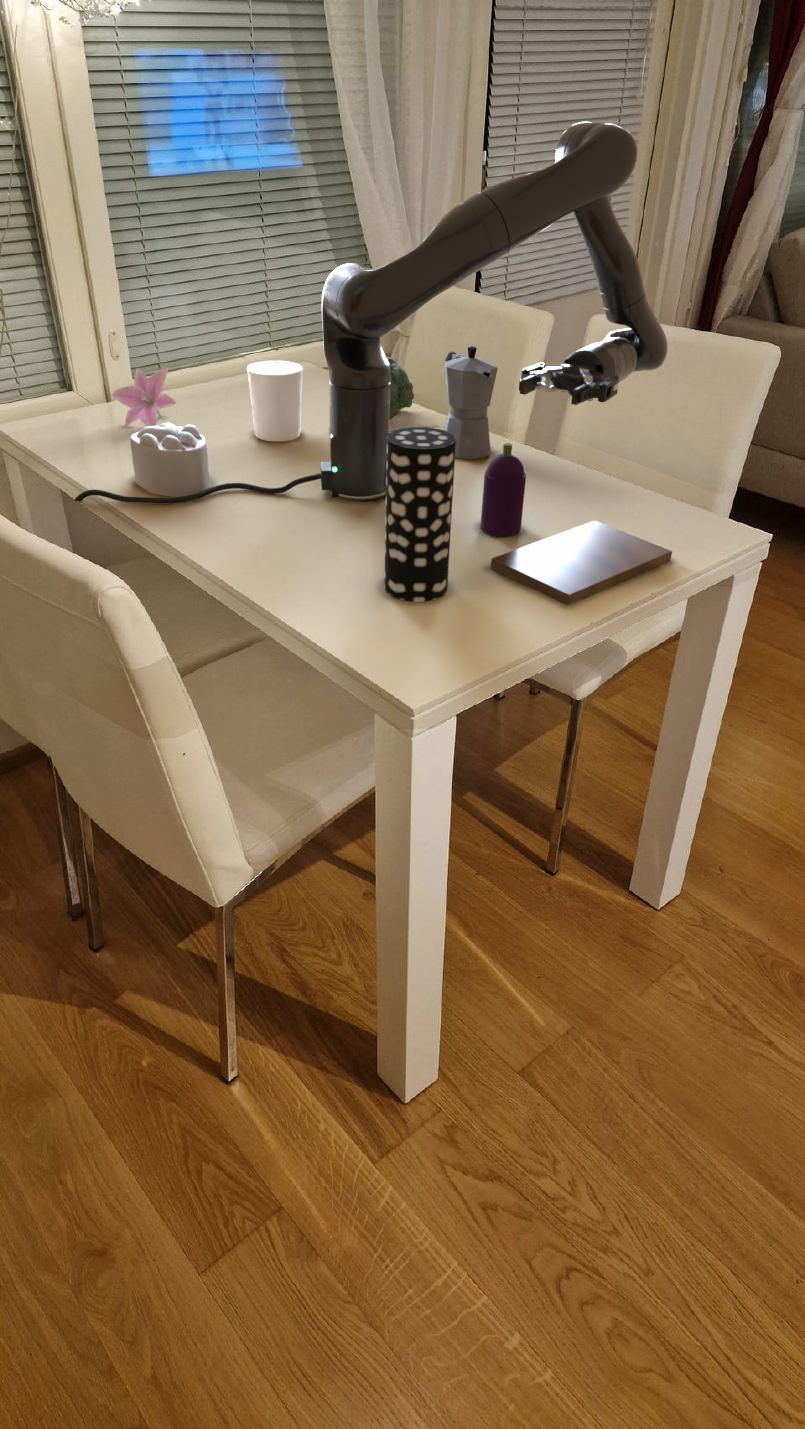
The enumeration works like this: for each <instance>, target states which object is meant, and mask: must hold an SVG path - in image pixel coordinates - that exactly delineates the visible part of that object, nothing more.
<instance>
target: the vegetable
mask: <svg viewBox="0 0 805 1429" xmlns="http://www.w3.org/2000/svg"><path fill="white" fill-rule="evenodd" d="M385 357H386V359H387V360H388V362H389V365H390V415H389V422H390V421H391V420H392V419H393V418H394V417H396V416H397V415H398V414H399V411H402V410H403V409H405V408H408V409H409V408H411V407H412V405H413V400H414V398H415V393H414V392H413V389H414V386H413V383H412V382H411V381H410V378H409V375H408V373H407V372H406V370H405V369H404V368H403V367H402V366H400V365H399V364H398V363H397V361H396V360H394V359H393V358H392V357H390V356H385Z"/></svg>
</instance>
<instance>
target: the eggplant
mask: <svg viewBox="0 0 805 1429" xmlns="http://www.w3.org/2000/svg"><path fill="white" fill-rule="evenodd" d="M512 450H513V444H512V443H509V442H506V443H504V444H503V447H502V453H501V454H498V455H496V456H495V457H493V458H492V459H491V460H490V462H489V463H488V465H487V468H486V470H484V474H483V475H484V476H483V487H482V488H483V489H482V499H481V500H482V503H481V513H480V514H481V517H480V526H479V527H480V528H479V529H480V530H481V532H483V533H484V534H487V535H488V536H493V537H499V538H504V537H505V538H508V537H513V536H516V535H518V534H520V533H521V530H522V522H523V510H524V502H525V490H526V480H527V473H526V471H525V468H524V465H523V462H522V461H521V460H520V458H519V457H517V456H516V455H514V454H512Z"/></svg>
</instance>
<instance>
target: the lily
mask: <svg viewBox="0 0 805 1429" xmlns="http://www.w3.org/2000/svg"><path fill="white" fill-rule="evenodd" d="M168 371H169V368H168V367H166V366H165V367H162V368H159V369H158V370H156V371H155V372H153V373H152V374H151V375H149V377H147V375H146V374H145V373H144V372H143V370H141V369H140V368H139V367H137V368H136V370H135V374H134V381H133V382H134V384H133V385H128V386H127V385H126V386H123V387H120V388H118V389H115V390H113V391H112V392H111V396H112V397H113V398H114V399H115V400H116V401H118V402H120V404H123V405H124V406H125V407H127V408H128V411H127V413H126V417H125V420H124V427H128V426H130V425H132V424H133V423H134V422H136V421H138V420H140V421H141V422H142V424H143V425H144V426H145V427H149V426H157V421H158V416H159V418H160V419H162V415H161V412H160V411H159V410H161V409H165V408H168V407H171V406H174V405H176V404H177V402H176V401H175V399H173V398H172V397H171V396H169V395H168V394H166V393H165V392H163V388H164V385H165V381H166V378H167V376H168Z"/></svg>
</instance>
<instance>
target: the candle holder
mask: <svg viewBox="0 0 805 1429" xmlns="http://www.w3.org/2000/svg"><path fill="white" fill-rule="evenodd" d="M303 370H304V368H303V366H302V365H301V364H299V363H297V362H293V361H286V360H262V361H257V362H253V363H250V364H249V365H247V367H246V372H247V377H248V379H247V380H248V386H249V397H250V405H251V413H252V422H253V430H254V431H253V432H254V435H255V437H256V438H257V439H260V440H262V441H266V442H275V443H278V442H289V441H292V440H296V439H298V438H299V437H300V436H301V431H302V430H301V428H302V400H303V398H302V396H303V395H302V394H303Z"/></svg>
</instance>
